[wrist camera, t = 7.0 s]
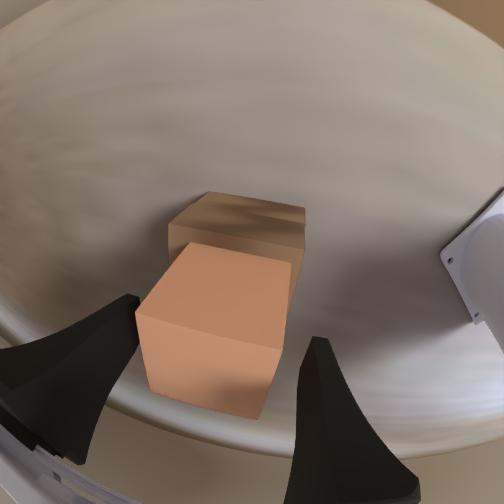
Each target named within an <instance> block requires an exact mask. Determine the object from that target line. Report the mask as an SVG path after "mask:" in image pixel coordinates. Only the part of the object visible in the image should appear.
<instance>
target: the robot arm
mask: <svg viewBox="0 0 504 504" xmlns="http://www.w3.org/2000/svg"><path fill="white" fill-rule="evenodd" d="M440 258H441V260H442V262H443V264H444V265H445V267H446V269H447V271H448V272H449V274H450V276H451V278H452V280H453V281H454V283H455V285H456V287H457V289H458V291H459V293H460V295H461V297H462V299H463V301H464V303H465V305H466V307H467V309H468V311H469V313H470V315H471V317H472V319H473V322H474V323H475V325H479V324H480V323H481V322H483V321H484V320H485V322H486V324H487V325H488V327H489V329H490V330H491V332H492V334H493V335H494V337H495V339H496V340H497V342H498V344H499V346H500V348H501V349H502V351H503V353H504V191H503V192H502V193H501V194H500V195H499V196H498V197H497V198H496V199H495V200H494V201H493V202H492V203H491V204H490V205H489V207H488V208H487V209H486V210H485V211H484V212H483V213H482V214H481V215H480V216H479V217H478V218H477V219H476V220H474V221H473V222H472V223H471V224H470V225H469V226H468V227H467V228H466V229H465V230H464V231H463V232H462V233H461V234H460V235H459V236H457V237H456V238H455V239H454V240H453V241H452V242H451V243H450V244H449V245H447V246H446V247H445V248H444V249H443V250H442V251H441V253H440ZM449 258H451V260H450V261H449V262H447V261H448V259H449ZM139 306H140V299H139V297H137V296H134V295H130V294H126V295H124V296H122V297H120V298H118V299H117V300H115V301H113V302H112V303H110V304H108V305H107V306H105V307H103V308H102V309H100V310H98V311H97V312H95V313H93V314H91V315H90V316H88V317H86V318H84V319H83V320H81V321H79V322H77V323H75V324H73V325H71V326H70V327H68V328H66V329H63V330H61V331H59V332H57V333H54V334H52V335H50V336H47V337H45V338H42V339H39V340H36V341H33V342H30V343H26V344H23V345H19V346H14V347H11V348H4V349H0V485H1V486H2V487H3V489H4V490H5V491H6V492H7V493H8V494H9V495H10V496H11V497H12V498H13V499H14V501H15V502H17V504H96V503H95V502H93V501H91V500H90V499H88V498H86V497H85V496H83V495H81V494H80V493H78V492H76V491H74V490H72V489H71V488H69V487H67V486H66V485H64V484H63V483H62V482H61V478H60V476H61V477H62V478H64V479H65V480H67V481H68V482H70V483H72V484H73V485H75V486H77V487H78V488H80V489H82V490H83V491H85V492H87V493H89V494H90V495H92V496H94V497H96V498H98V499H100V500H102V501H103V502H105V503H107V504H143V503H140V502H137V501H135V500H133V499H130V498H128V497H126V496H124V495H121V494H119V493H117V492H115V491H113V490H111V489H109V488H107V487H105V486H103V485H101V484H99V483H97V482H95V481H93V480H92V479H90V478H88V477H86V476H84V475H82V474H81V473H79V472H78V471H76V470H74V469H73V468H71V467H69V466H68V465H66V464H65V463H63V462H62V461H60V460H58V459H57V458H55V455H58V456H59V457H61V458H64V457H65V458H67V459H69V460H70V461H72V462H73V463H75V464H77V465H83V464H85V462H86V457H87V453H88V449H89V445H90V441H91V439H92V435H93V432H94V429H95V426H96V424H97V421H98V418H99V416H100V413H101V411H102V408H103V406H104V404H105V402H106V400H107V397H108V395H109V393H110V391H111V390H112V388H113V386H114V384H115V383H116V381H117V380H118V378H119V376H120V375H121V373H122V372H123V370H124V368H125V367H126V365H127V364H128V362H129V361H130V359H131V357H132V356H133V354H134V353H135V351H136V349H137V347H138V345H139V343H140V339H139V334H138V328H137V322H136V316H135V311H136V310H137V309H138V307H139ZM420 501H421V495H420V484H419V478H418V477H416V476H415V475H414V474H413V473H412V472H411V471H410V470H409V469H408V468H406V467H405V466H404V465H403V464H402V463H401V462H400V461H399V460H398V459H397V458H396V457H395V456H394V455H393V453H392V452H391V451H390V450H389V449H388V448H387V446H386V445H385V444H384V443H383V441H382V440H381V439H380V438H379V436H378V435H377V434H376V432H375V431H374V430H373V428H372V427H371V425H370V424H369V422H368V421H367V419H366V418H365V416H364V415H363V413H362V411H361V410H360V408H359V406H358V404H357V403H356V401H355V399H354V397H353V395H352V393H351V391H350V389H349V387H348V385H347V383H346V381H345V379H344V376H343V374H342V372H341V370H340V367H339V365H338V363H337V360H336V358H335V355H334V353H333V350H332V347H331V345H330V342H329V340H328V339H327V338H321V337H314V336H312V339H311V342H310V344H309V347H308V349H307V352H306V354H305V357H304V359H303V362H302V364H301V367H300V371H299V378H298V386H297V411H296V440H295V449H294V455H293V461H292V467H291V472H290V477H289V482H288V487H287V491H286V495H285V499H284V504H418V503H419V502H420Z"/></svg>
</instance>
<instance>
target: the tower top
mask: <svg viewBox="0 0 504 504" xmlns="http://www.w3.org/2000/svg"><path fill="white" fill-rule="evenodd" d="M190 242H193V243H198V244H203V245H207V246H212V247H217V248H222V249H227V250H231V251H236V252H241V253H246V254H251V255H256V256H260V257H265V258H270V259H275V260H280V261H285V262H289V263H291V274H290V285H289V296H288V306H287V316H288V312H289V309H290V305H291V301H292V298H293V294H294V290H295V286H296V283H297V279H298V275H299V271H300V267H301V263H302V259H303V255H304V251H305V226H304V223H299V222H294V221H289V220H284V219H279V218H274V217H268V216H263V215H258V214H252V213H247V212H241V211H236V210H230V209H224V208H218V207H212V206H206V205H200V204H194V203H192V204H190V205H189V206H188V207H187V208H186V209H185V210H183V211H182V212H181V213H180V214H179V215H178V216H176V217H175V218H174V219H173V220H172V221H171V222H170V223H169V224H168V259H169V267H170V266H171V265H172V264H173V262H174V261H175V260H176V259H177V257H178V256H179V255H180V254H181V252H182V251H183V250H184V249H185V248H186V246H187V245H188V244H189V243H190ZM287 316H286V319H287Z"/></svg>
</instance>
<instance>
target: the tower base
mask: <svg viewBox="0 0 504 504" xmlns="http://www.w3.org/2000/svg"><path fill="white" fill-rule="evenodd" d="M194 204H200V205H206V206H212V207H218V208H224V209H230V210H236V211H241V212H247V213H252V214H258V215H263V216H268V217H274V218H279V219H284V220H289V221H294V222H299V223H304V226H305V225H306V221H305V208H303V207H297V206H292V205H287V204H282V203H276V202H271V201H265V200H259V199H254V198H248V197H242V196H236V195H229V194H223V193H217V192H210V191H209V192H207V193H206V194H205V195H204V196H203V197H201V198H200V199H199V200H198V201H197V202H196V203H194Z"/></svg>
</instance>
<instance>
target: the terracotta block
mask: <svg viewBox="0 0 504 504" xmlns="http://www.w3.org/2000/svg"><path fill="white" fill-rule="evenodd" d="M290 274H291V263H289V262H285V261H280V260H275V259H270V258H265V257H260V256H256V255H251V254H246V253H241V252H236V251H231V250H227V249H222V248H217V247H212V246H207V245H203V244H198V243H193V242H190V243H189V244H188V245H187V246H186V248H185V249H184V250H183V251H182V252H181V254H180V255H179V256H178V257H177V259H176V260H175V261H174V262H173V264H172V265H171V266H170V267H169V269H168V270H167V271H166V272H165V274H164V275H163V276H162V278H161V279H160V280H159V281H158V283H157V284H156V285H155V287H154V288H153V289H152V290H151V292H150V293H149V294H148V296H147V297H146V298H145V300H144V301H143V302H142V303H141V305H140V306H139V307H138V309H137V310H136V311H135V316H136V322H137V328H138V334H139V339H140V345H141V350H142V355H143V359H144V364H145V369H146V373H147V377H148V381H149V386H150V390H151V391H153V392H155V393H158V394H161V395H164V396H167V397H170V398H173V399H176V400H179V401H183V402H186V403H189V404H193V405H196V406H200V407H203V408H207V409H211V410H215V411H219V412H223V413H227V414H231V415H236V416H241V417H245V418H250V419H255V420H258V417H259V415H260V412H261V410H262V407H263V404H264V402H265V399H266V396H267V393H268V391H269V388H270V385H271V382H272V380H273V377H274V374H275V371H276V368H277V365H278V362H279V359H280V357H281V354H282V351H283V343H284V335H285V325H286V316H287V306H288V296H289V285H290Z"/></svg>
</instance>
